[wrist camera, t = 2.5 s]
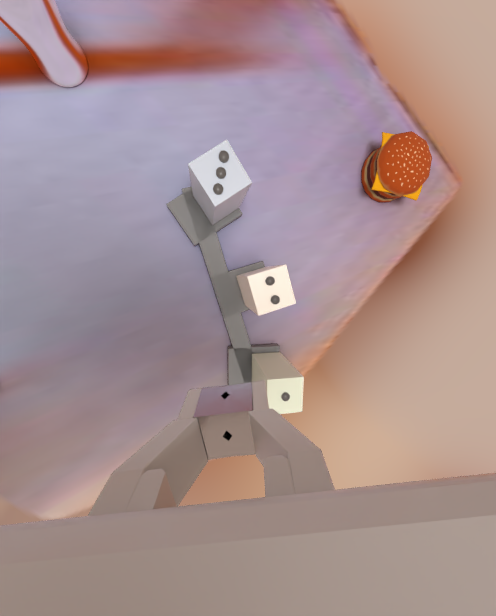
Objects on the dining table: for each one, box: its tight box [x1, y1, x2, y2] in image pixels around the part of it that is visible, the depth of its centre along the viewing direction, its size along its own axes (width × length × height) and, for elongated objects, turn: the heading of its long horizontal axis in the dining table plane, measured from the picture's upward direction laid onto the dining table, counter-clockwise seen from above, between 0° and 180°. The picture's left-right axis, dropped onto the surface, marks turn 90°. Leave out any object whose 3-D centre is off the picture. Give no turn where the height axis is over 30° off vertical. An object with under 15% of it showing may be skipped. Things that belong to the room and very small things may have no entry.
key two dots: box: [236, 265, 296, 316], centre depth 33 cm, size 5×5×10 cm
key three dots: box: [188, 140, 252, 225], centre depth 30 cm, size 5×5×10 cm
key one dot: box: [252, 352, 304, 414], centre depth 35 cm, size 5×5×10 cm
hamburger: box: [362, 131, 432, 202], centre depth 38 cm, size 9×10×7 cm
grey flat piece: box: [166, 187, 280, 385], centre depth 38 cm, size 12×36×2 cm, turn 17°
